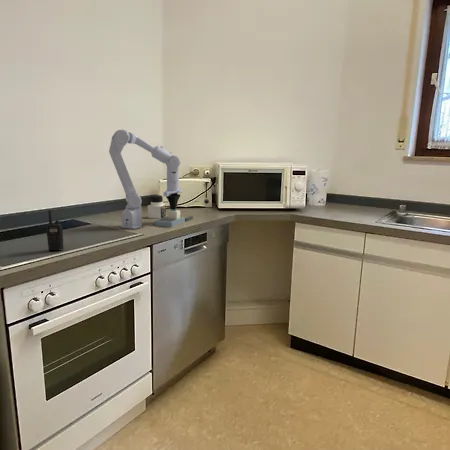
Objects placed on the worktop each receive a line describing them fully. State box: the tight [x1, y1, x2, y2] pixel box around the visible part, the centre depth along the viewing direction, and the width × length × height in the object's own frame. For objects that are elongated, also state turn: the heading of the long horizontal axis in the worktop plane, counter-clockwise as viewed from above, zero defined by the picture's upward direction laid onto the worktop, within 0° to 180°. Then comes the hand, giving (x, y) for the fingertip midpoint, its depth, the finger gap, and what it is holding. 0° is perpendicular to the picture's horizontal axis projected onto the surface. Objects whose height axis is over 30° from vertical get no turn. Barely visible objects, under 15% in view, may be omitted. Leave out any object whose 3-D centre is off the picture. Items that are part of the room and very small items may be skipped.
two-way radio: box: [45, 209, 64, 251], centre depth 144 cm, size 6×4×15 cm
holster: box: [180, 214, 194, 222], centre depth 198 cm, size 7×8×2 cm
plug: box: [166, 208, 181, 219], centre depth 190 cm, size 4×5×7 cm
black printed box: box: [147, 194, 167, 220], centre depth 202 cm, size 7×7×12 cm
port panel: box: [154, 215, 186, 229], centre depth 188 cm, size 13×9×3 cm
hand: (173, 209), depth 190 cm, fingers closed, pressing on plug
